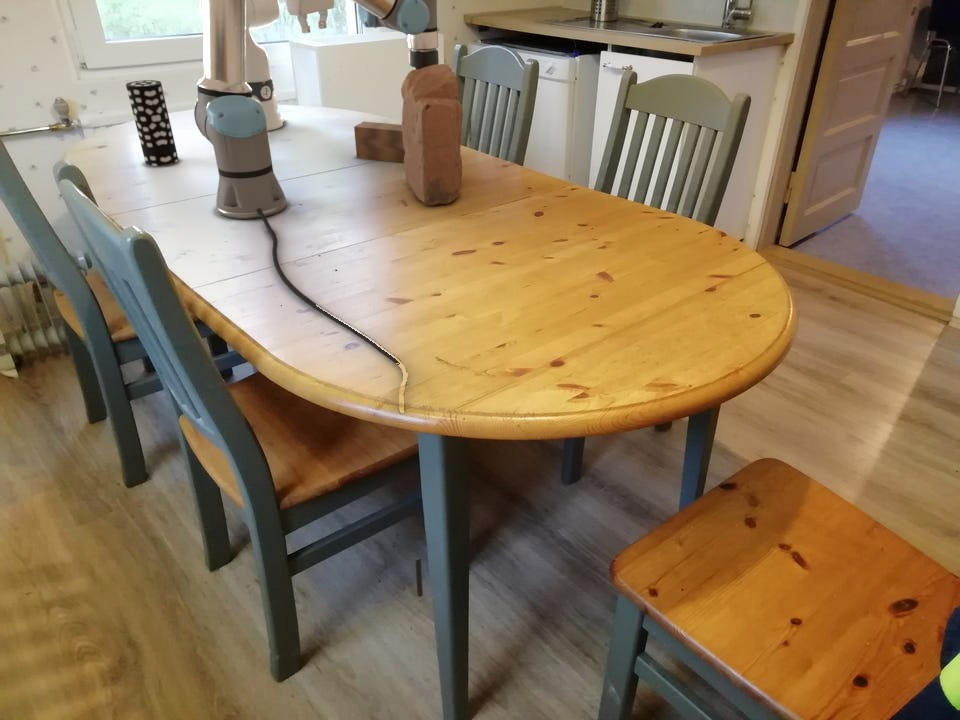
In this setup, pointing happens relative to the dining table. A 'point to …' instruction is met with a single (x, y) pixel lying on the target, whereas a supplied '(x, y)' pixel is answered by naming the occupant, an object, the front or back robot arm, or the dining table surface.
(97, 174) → the dining table surface
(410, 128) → the stone
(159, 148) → the black white spotted cylinder
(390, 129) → the box
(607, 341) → the dining table surface
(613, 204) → the dining table surface
